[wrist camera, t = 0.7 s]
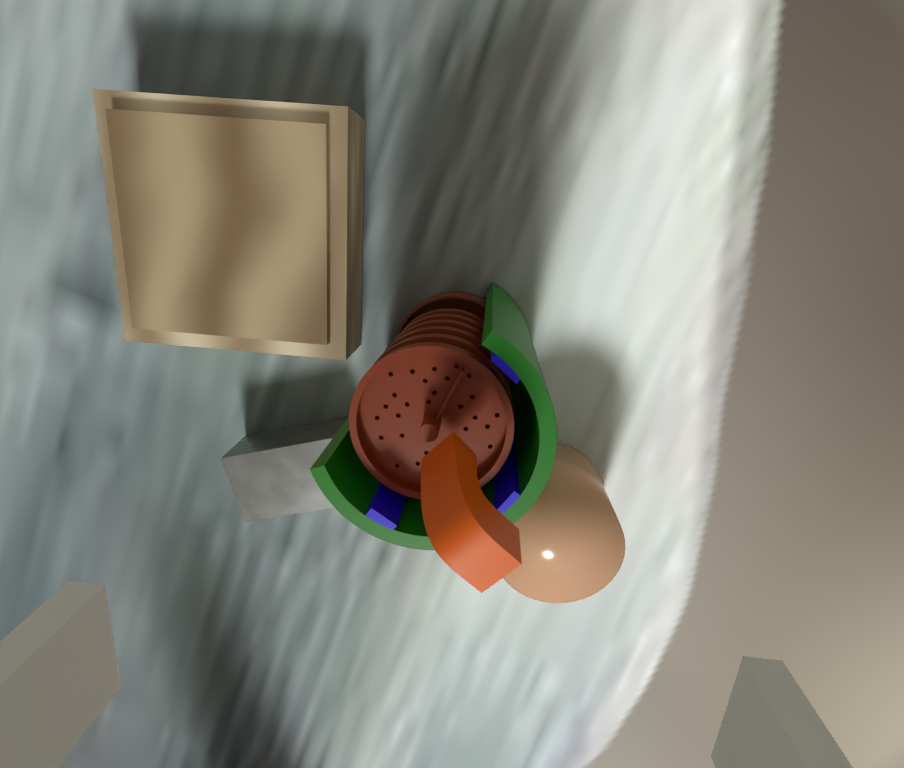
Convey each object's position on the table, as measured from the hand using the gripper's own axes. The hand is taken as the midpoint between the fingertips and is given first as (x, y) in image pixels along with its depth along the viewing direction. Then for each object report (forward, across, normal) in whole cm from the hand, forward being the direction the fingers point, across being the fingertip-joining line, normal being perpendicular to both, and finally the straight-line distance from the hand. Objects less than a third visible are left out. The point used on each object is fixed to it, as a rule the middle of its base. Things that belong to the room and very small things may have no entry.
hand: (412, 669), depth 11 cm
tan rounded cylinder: (+26, +7, -10) cm, 29 cm away
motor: (+26, 0, 0) cm, 26 cm away
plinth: (+26, -14, +7) cm, 30 cm away
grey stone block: (+26, -11, -9) cm, 30 cm away
